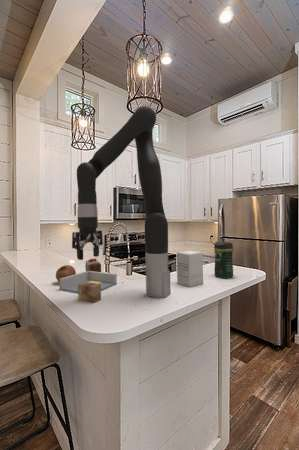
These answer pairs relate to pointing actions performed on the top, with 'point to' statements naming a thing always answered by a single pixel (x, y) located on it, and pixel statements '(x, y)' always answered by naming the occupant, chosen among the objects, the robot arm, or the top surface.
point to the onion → (65, 272)
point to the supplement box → (190, 268)
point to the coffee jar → (223, 259)
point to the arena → (88, 280)
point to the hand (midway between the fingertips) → (88, 257)
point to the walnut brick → (89, 292)
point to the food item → (93, 265)
